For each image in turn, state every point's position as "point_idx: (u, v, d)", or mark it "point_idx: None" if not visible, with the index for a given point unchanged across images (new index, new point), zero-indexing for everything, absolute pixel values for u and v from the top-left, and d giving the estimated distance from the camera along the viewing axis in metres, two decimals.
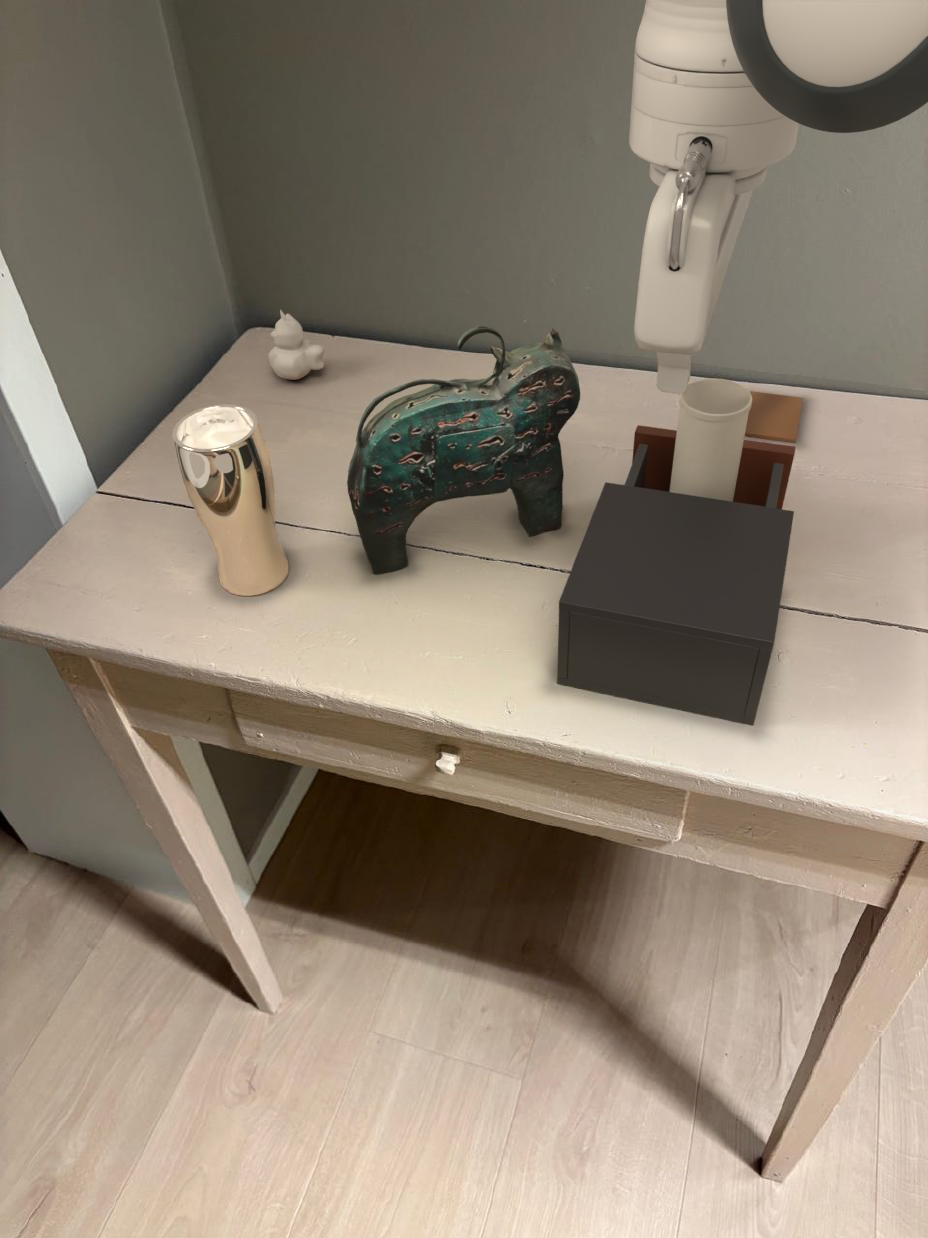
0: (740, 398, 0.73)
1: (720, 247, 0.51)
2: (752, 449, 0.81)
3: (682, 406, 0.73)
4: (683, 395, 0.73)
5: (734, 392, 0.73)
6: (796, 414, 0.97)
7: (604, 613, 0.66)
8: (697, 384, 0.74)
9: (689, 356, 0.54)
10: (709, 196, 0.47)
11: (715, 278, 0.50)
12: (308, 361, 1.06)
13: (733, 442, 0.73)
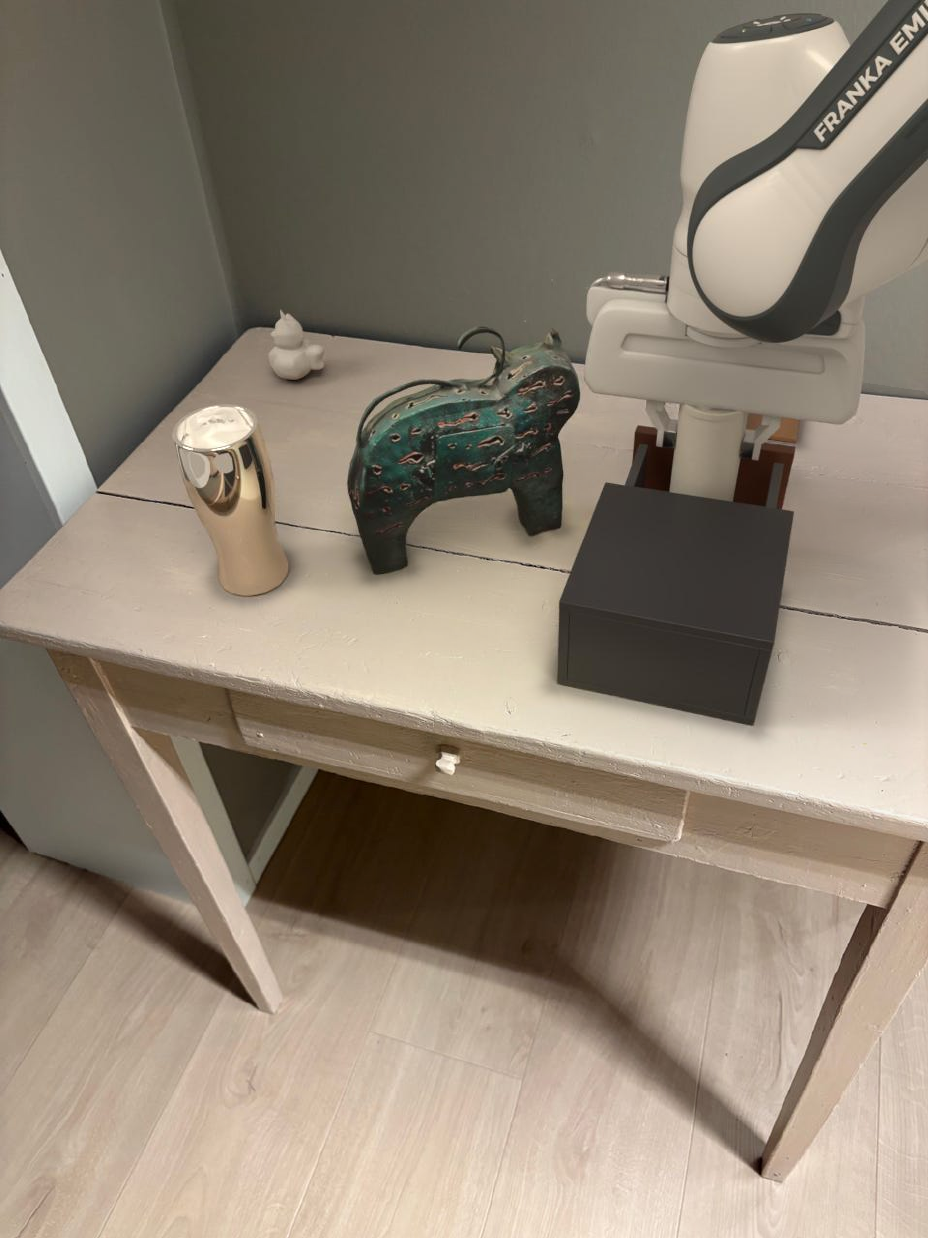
0: None
1: (654, 355, 0.71)
2: None
3: (682, 406, 0.73)
4: None
5: None
6: None
7: (604, 613, 0.66)
8: None
9: (649, 416, 0.75)
10: (626, 302, 0.69)
11: (627, 362, 0.72)
12: (308, 361, 1.06)
13: (733, 442, 0.73)
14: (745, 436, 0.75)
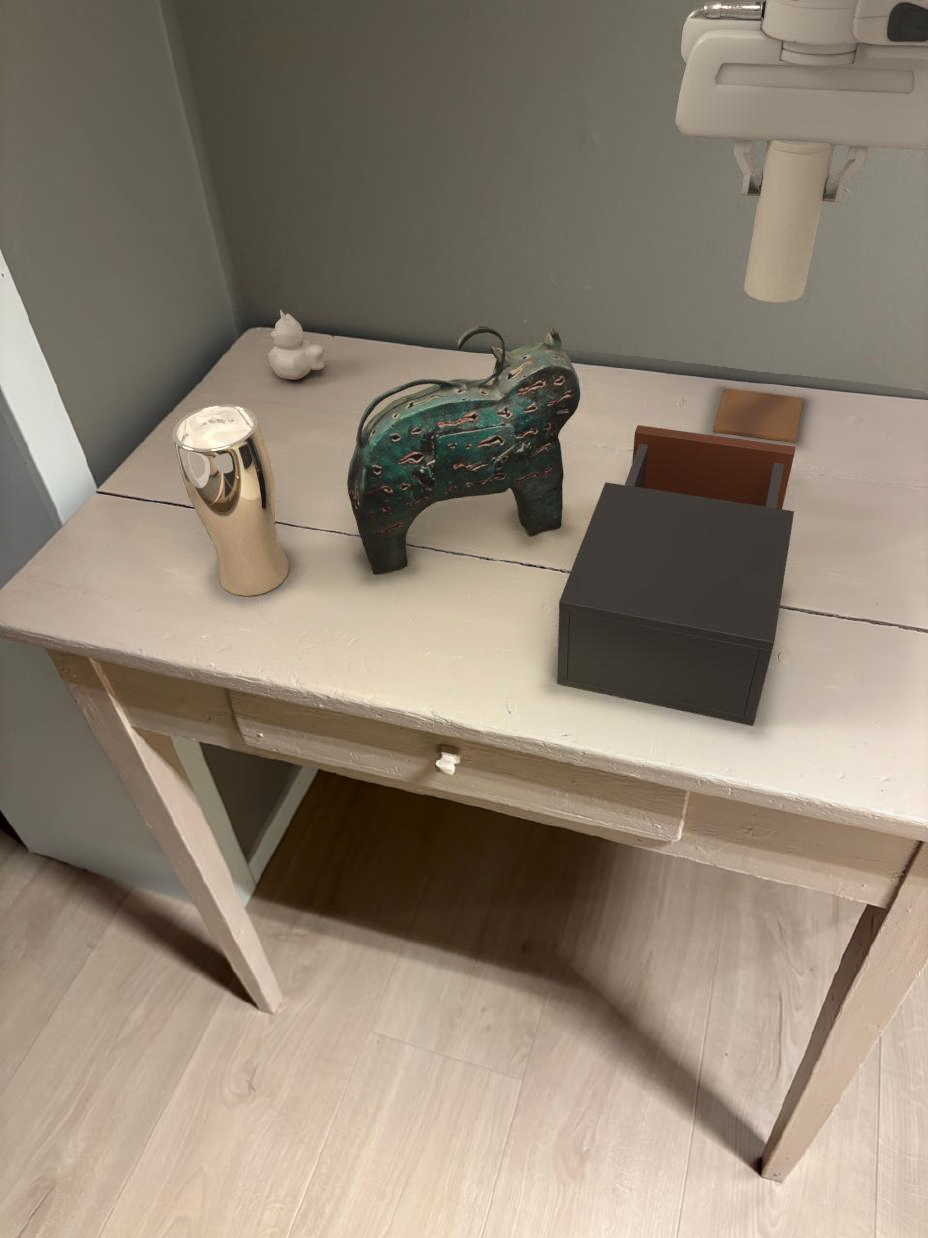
0: None
1: (747, 86, 0.74)
2: (752, 449, 0.81)
3: (770, 143, 0.76)
4: None
5: None
6: (796, 414, 0.97)
7: (604, 613, 0.66)
8: None
9: (736, 159, 0.78)
10: (722, 31, 0.73)
11: (720, 96, 0.75)
12: (308, 361, 1.06)
13: (819, 179, 0.77)
14: (829, 177, 0.78)
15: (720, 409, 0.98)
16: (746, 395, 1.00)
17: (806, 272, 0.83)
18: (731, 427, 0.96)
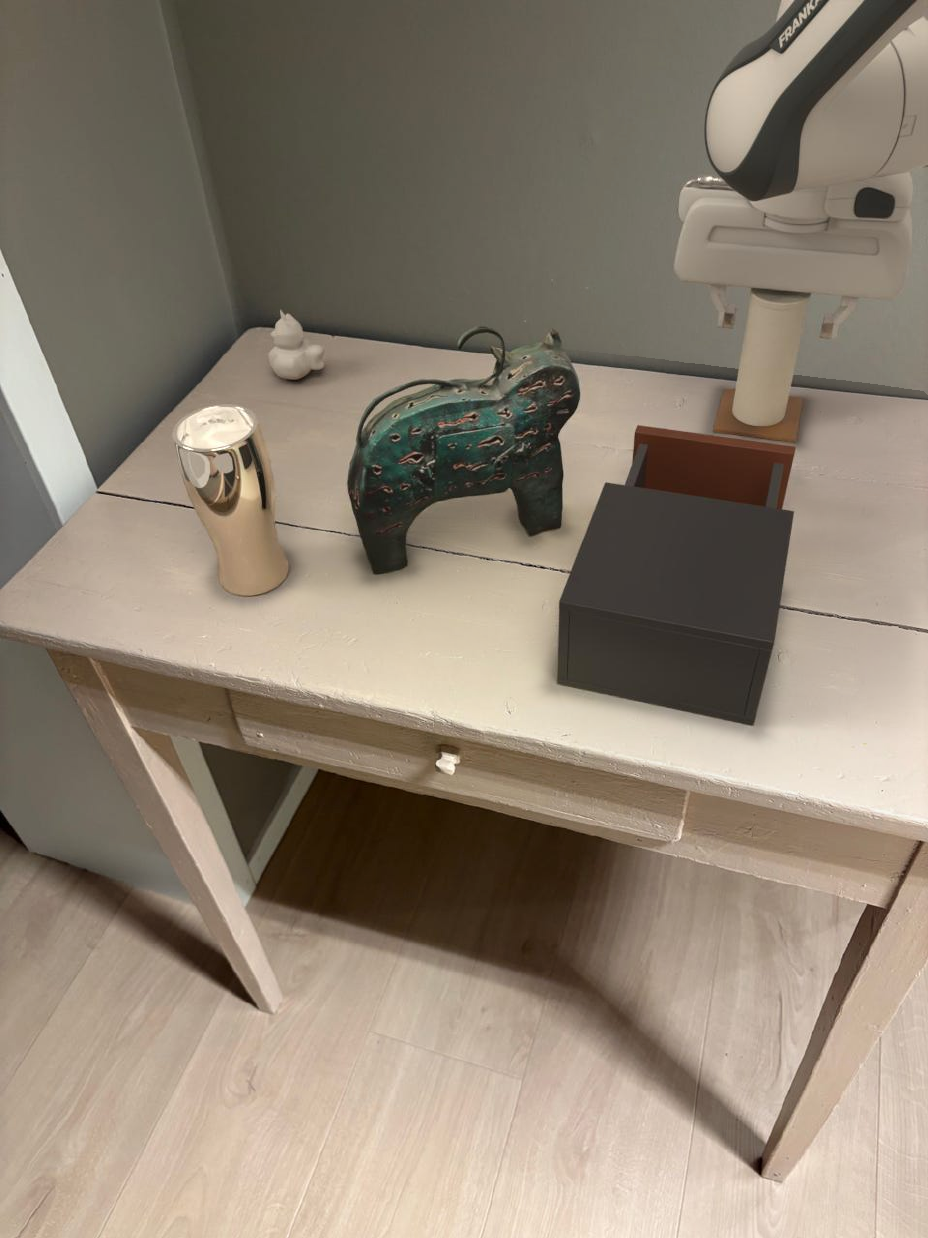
0: None
1: (736, 244, 0.85)
2: (752, 449, 0.81)
3: (753, 299, 0.88)
4: (753, 290, 0.89)
5: None
6: (796, 414, 0.97)
7: (604, 613, 0.66)
8: None
9: (712, 299, 0.90)
10: (713, 199, 0.84)
11: (712, 252, 0.86)
12: (308, 361, 1.06)
13: (795, 329, 0.89)
14: (825, 318, 0.89)
15: (720, 409, 0.98)
16: None
17: (786, 401, 0.95)
18: (731, 427, 0.96)
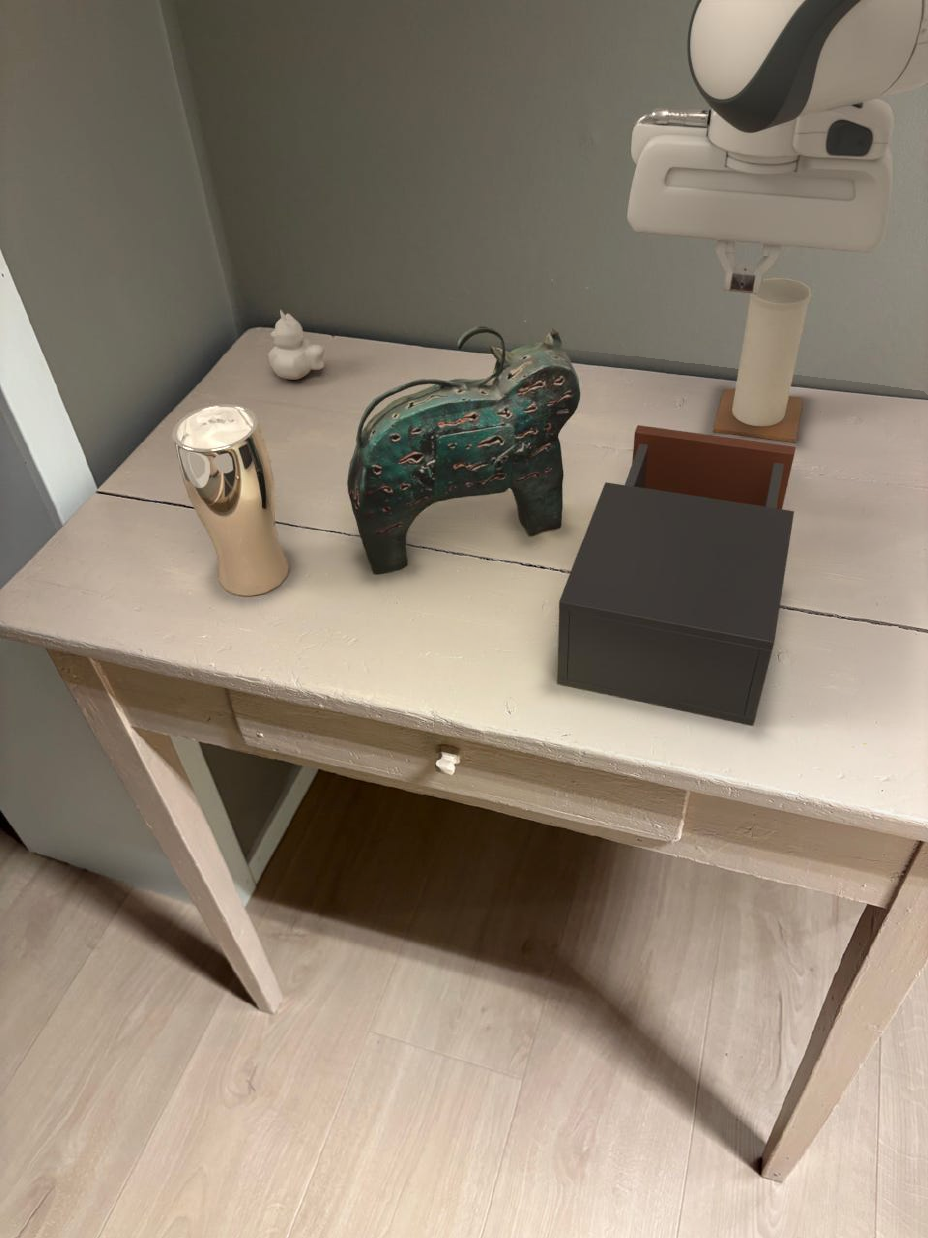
0: (801, 291, 0.88)
1: (695, 189, 0.76)
2: (752, 449, 0.81)
3: (753, 299, 0.88)
4: None
5: (795, 287, 0.89)
6: (796, 414, 0.97)
7: (604, 613, 0.66)
8: (764, 282, 0.90)
9: None
10: (669, 137, 0.74)
11: (669, 198, 0.77)
12: (308, 361, 1.06)
13: (795, 329, 0.89)
14: (746, 270, 0.80)
15: (720, 409, 0.98)
16: None
17: (786, 401, 0.95)
18: (731, 427, 0.96)
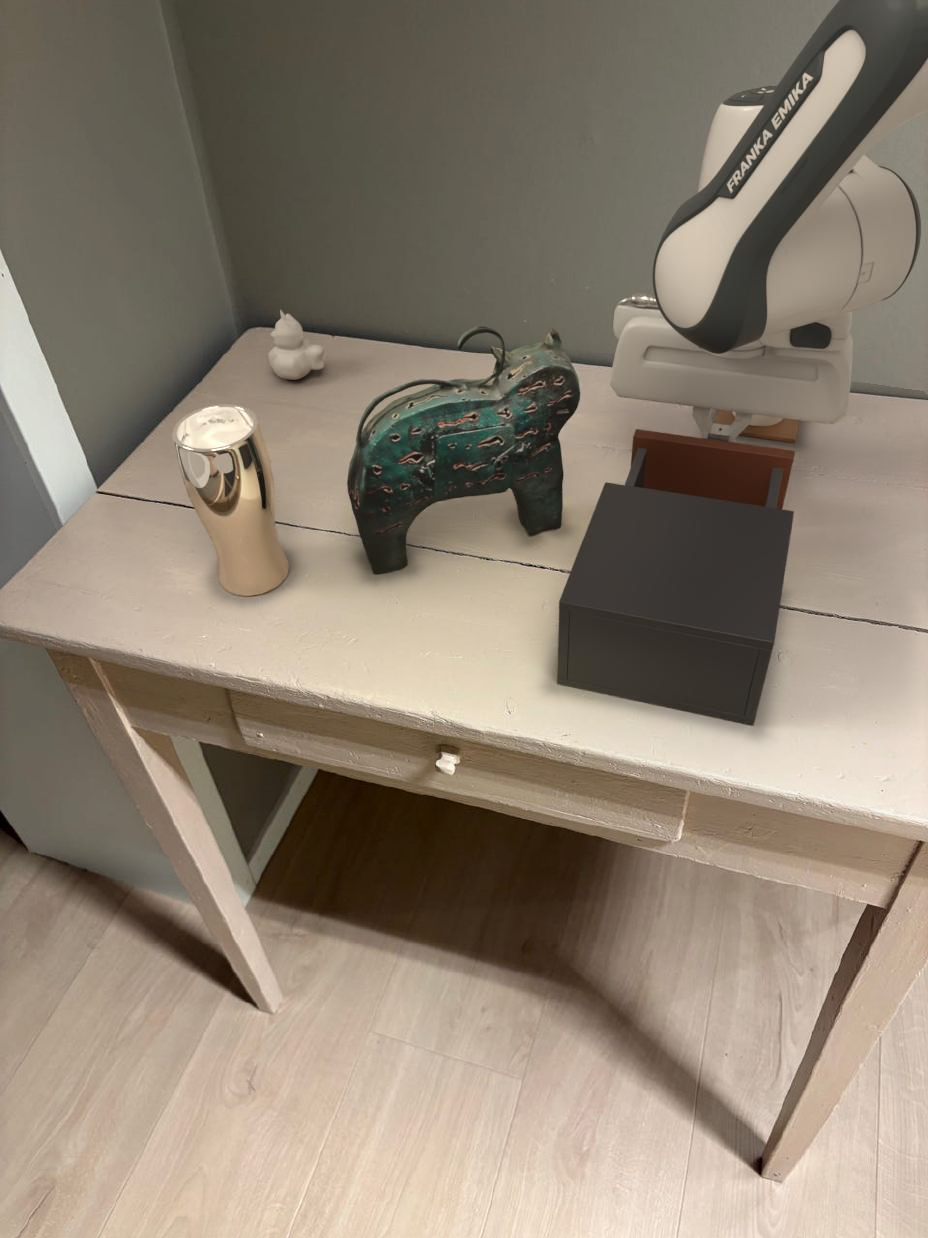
0: None
1: (672, 364, 0.82)
2: (751, 453, 0.80)
3: None
4: None
5: None
6: None
7: (604, 613, 0.66)
8: None
9: (695, 420, 0.86)
10: (648, 319, 0.81)
11: (648, 370, 0.83)
12: (308, 361, 1.06)
13: None
14: (721, 430, 0.87)
15: None
16: None
17: None
18: None
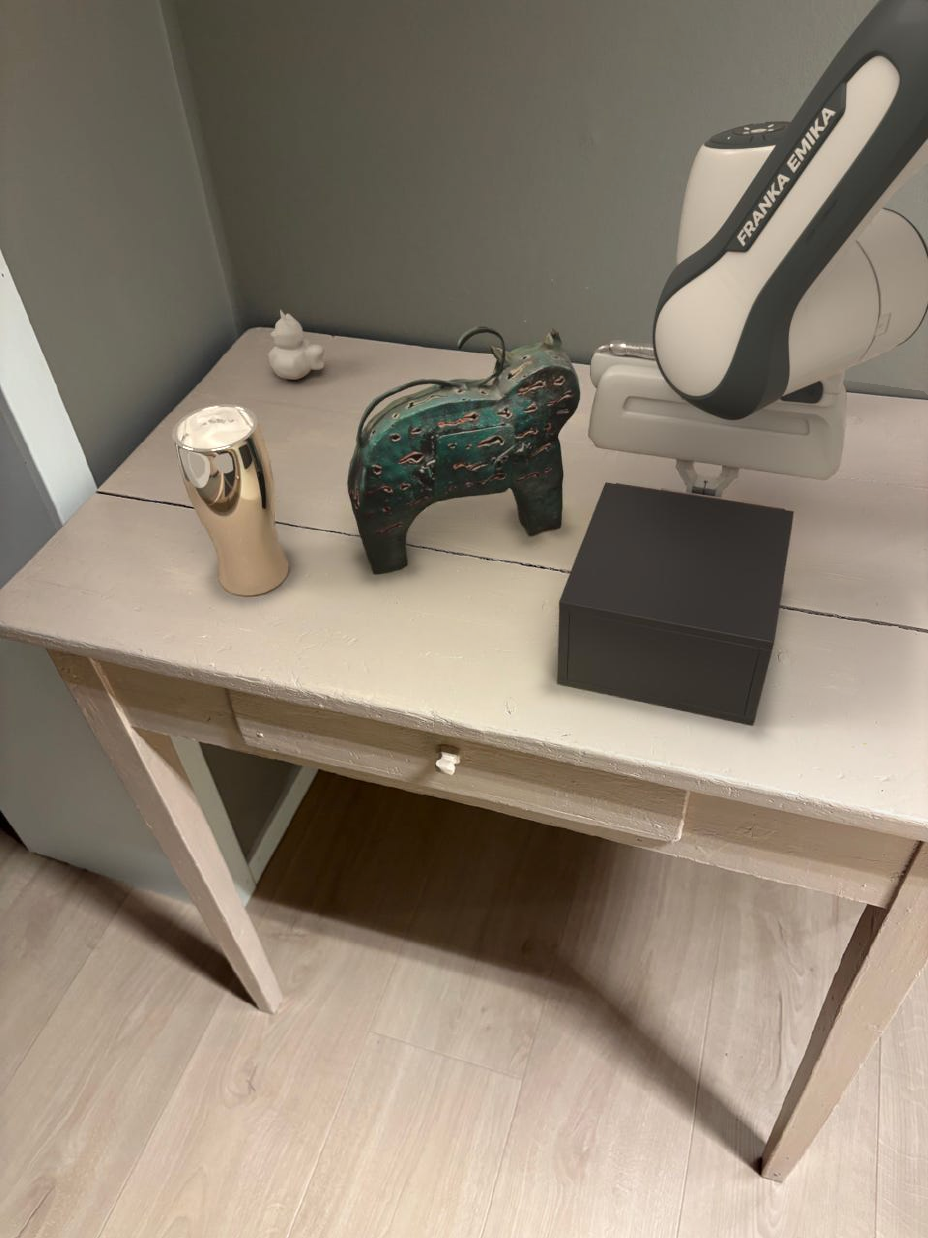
0: None
1: (653, 415, 0.77)
2: None
3: None
4: None
5: None
6: None
7: (604, 613, 0.66)
8: None
9: None
10: (627, 368, 0.76)
11: (628, 421, 0.78)
12: (308, 361, 1.06)
13: None
14: (707, 483, 0.81)
15: None
16: None
17: None
18: None
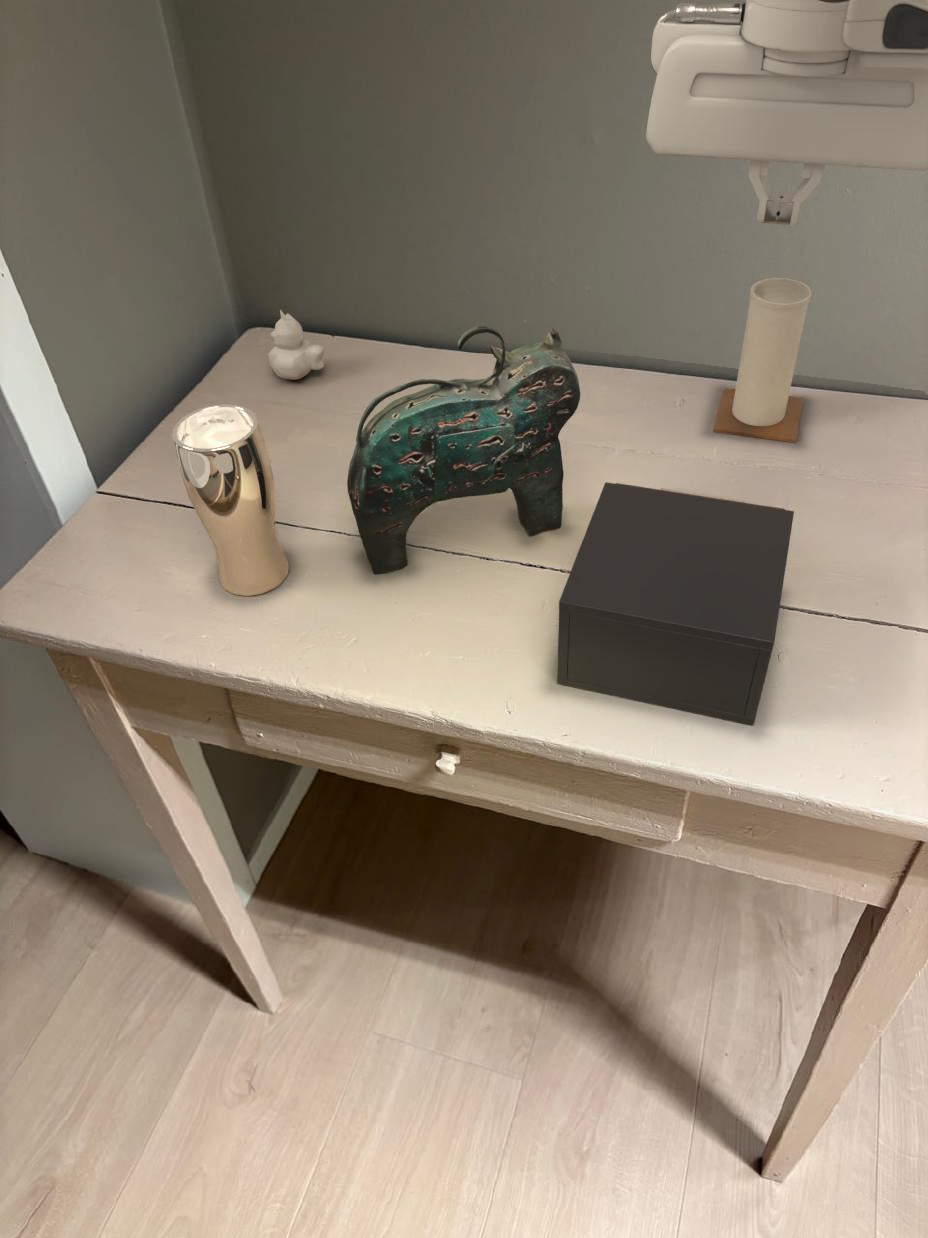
0: (801, 291, 0.88)
1: (726, 98, 0.66)
2: None
3: (753, 299, 0.88)
4: (753, 290, 0.89)
5: (795, 287, 0.89)
6: (796, 414, 0.97)
7: (604, 613, 0.66)
8: (764, 282, 0.90)
9: None
10: (696, 37, 0.64)
11: (695, 110, 0.67)
12: (308, 361, 1.06)
13: (795, 329, 0.89)
14: (783, 197, 0.70)
15: (720, 409, 0.98)
16: None
17: (786, 401, 0.95)
18: (731, 427, 0.96)
